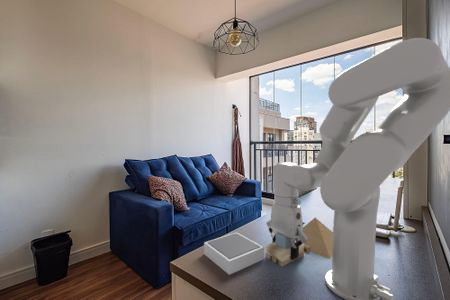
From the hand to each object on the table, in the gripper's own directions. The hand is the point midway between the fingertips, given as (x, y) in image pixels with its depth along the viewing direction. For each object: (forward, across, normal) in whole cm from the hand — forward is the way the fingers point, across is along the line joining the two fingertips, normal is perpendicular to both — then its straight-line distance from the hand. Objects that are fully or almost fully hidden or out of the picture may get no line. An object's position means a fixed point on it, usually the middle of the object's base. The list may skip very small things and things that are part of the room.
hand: (284, 252), depth 73 cm
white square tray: (+1, +10, +14) cm, 17 cm away
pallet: (+1, 0, 0) cm, 1 cm away
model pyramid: (+2, 0, -17) cm, 17 cm away
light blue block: (-3, 0, 0) cm, 3 cm away
